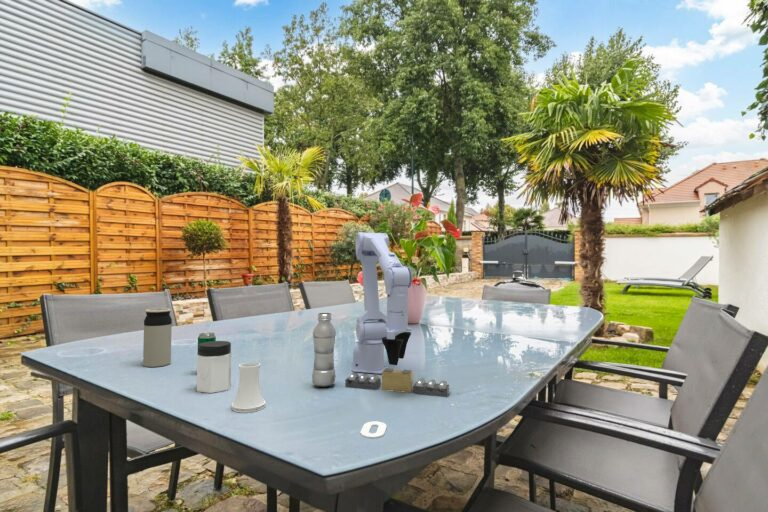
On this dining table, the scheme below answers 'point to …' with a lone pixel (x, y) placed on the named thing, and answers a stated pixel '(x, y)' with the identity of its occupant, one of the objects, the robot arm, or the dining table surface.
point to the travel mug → (157, 337)
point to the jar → (214, 366)
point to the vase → (248, 389)
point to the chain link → (367, 427)
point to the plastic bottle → (324, 351)
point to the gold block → (397, 380)
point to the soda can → (206, 338)
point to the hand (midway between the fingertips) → (396, 361)
